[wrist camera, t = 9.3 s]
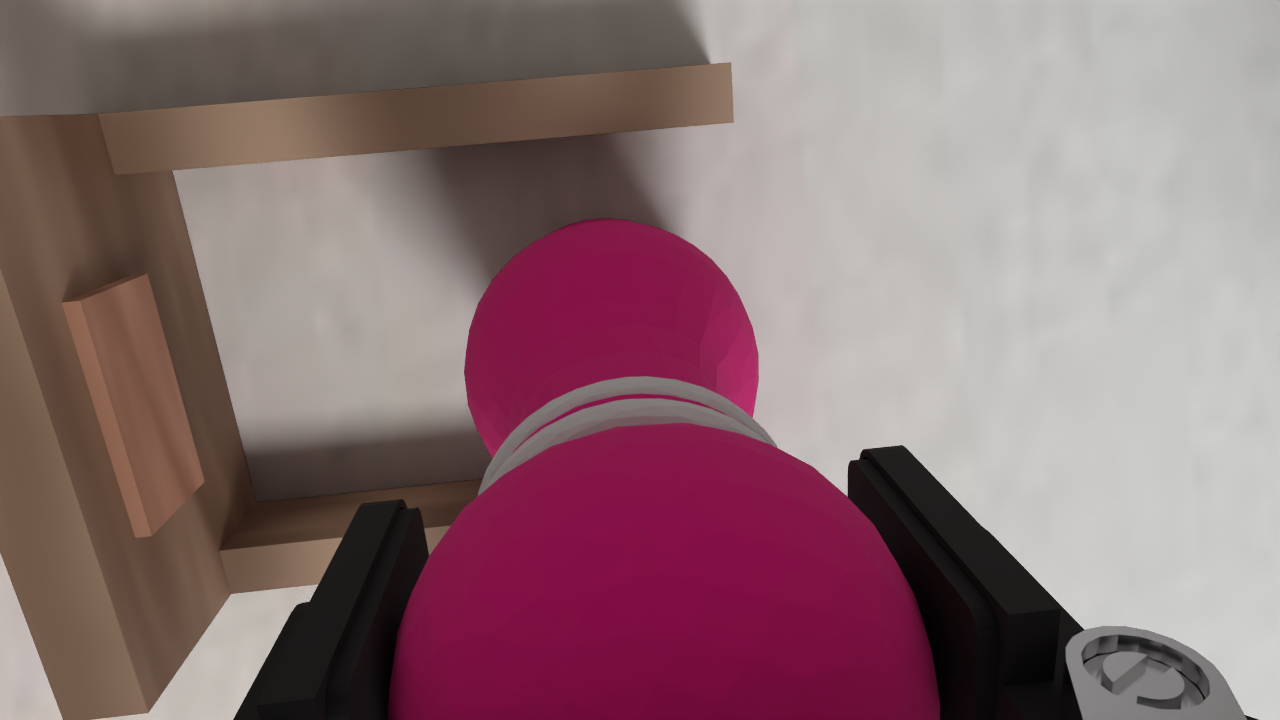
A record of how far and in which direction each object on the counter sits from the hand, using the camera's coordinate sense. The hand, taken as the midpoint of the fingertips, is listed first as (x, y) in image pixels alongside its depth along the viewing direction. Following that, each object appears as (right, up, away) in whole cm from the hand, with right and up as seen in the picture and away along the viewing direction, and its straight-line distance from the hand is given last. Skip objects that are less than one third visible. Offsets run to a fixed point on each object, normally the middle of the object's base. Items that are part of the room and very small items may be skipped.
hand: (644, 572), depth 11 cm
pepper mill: (-1, +4, +13) cm, 14 cm away
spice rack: (-6, +4, +14) cm, 16 cm away
